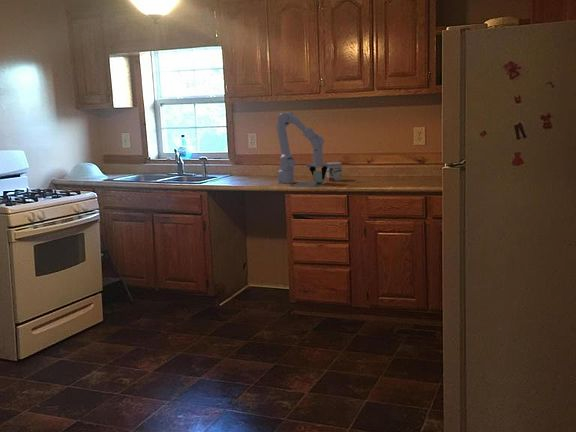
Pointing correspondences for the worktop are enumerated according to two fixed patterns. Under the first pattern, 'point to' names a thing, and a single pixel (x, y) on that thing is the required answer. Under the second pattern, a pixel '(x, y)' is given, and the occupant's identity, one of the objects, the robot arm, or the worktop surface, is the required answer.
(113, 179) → the worktop surface
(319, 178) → the pale green cube
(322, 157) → the robot arm
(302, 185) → the board
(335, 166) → the ink box
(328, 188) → the worktop surface
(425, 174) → the worktop surface
